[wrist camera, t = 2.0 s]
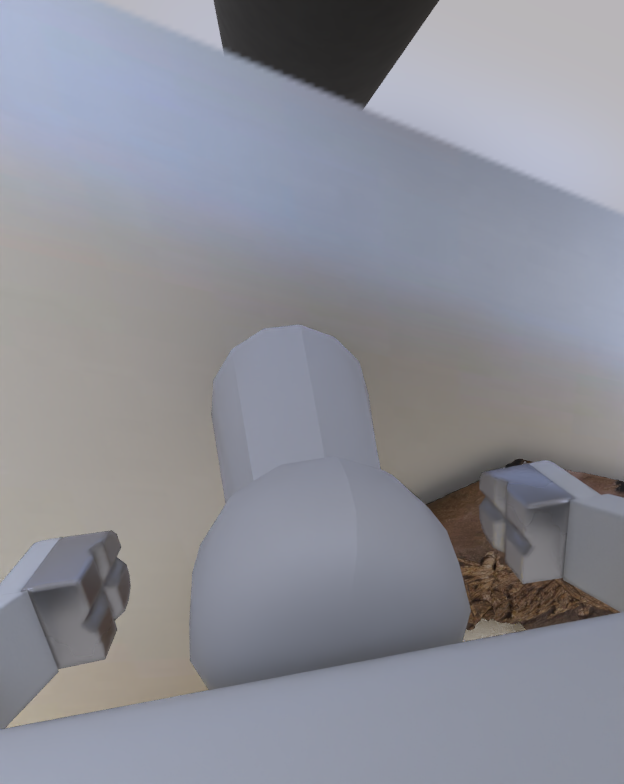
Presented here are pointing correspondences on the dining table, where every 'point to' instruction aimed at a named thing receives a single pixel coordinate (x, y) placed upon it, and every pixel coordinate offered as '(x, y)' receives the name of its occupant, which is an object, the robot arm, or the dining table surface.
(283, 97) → the dining table surface
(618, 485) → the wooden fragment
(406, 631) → the salt shaker
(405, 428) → the dining table surface
